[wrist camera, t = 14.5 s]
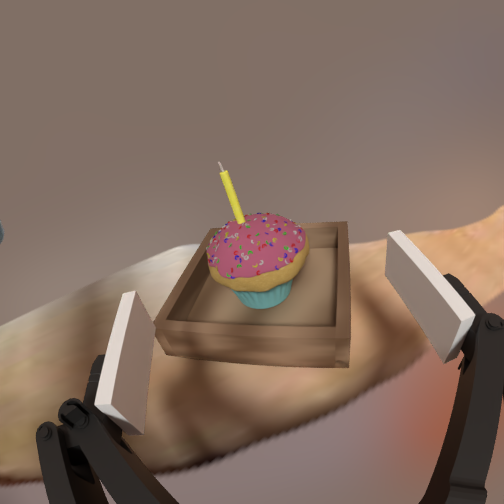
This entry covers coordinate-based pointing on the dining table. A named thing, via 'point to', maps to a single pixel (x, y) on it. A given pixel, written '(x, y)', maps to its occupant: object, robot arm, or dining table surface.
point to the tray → (266, 311)
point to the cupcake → (256, 254)
